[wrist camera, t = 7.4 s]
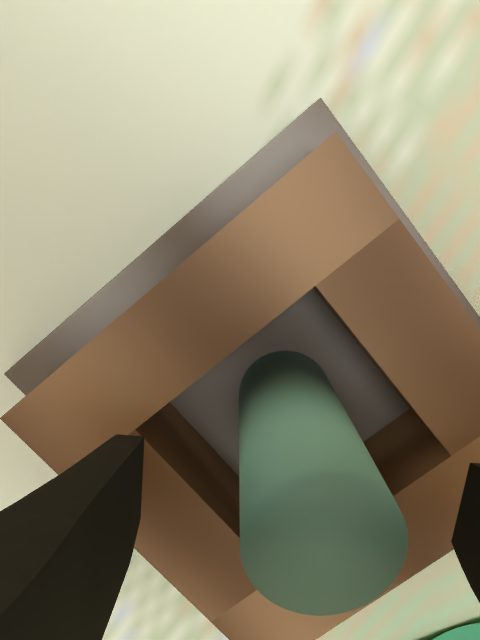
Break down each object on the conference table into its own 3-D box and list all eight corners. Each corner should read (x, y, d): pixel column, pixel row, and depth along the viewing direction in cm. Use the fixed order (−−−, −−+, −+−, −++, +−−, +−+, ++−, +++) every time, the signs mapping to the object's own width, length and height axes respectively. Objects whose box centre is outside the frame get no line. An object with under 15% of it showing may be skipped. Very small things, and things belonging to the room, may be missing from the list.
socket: (255, 609, 18) (259, 708, 14) (13, 367, 15) (-55, 413, 12) (543, 413, 16) (631, 471, 12) (316, 102, 13) (345, 63, 10)
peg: (281, 452, 15) (316, 642, 8) (220, 392, 15) (205, 543, 8) (348, 395, 15) (442, 548, 8) (287, 332, 14) (332, 437, 7)
